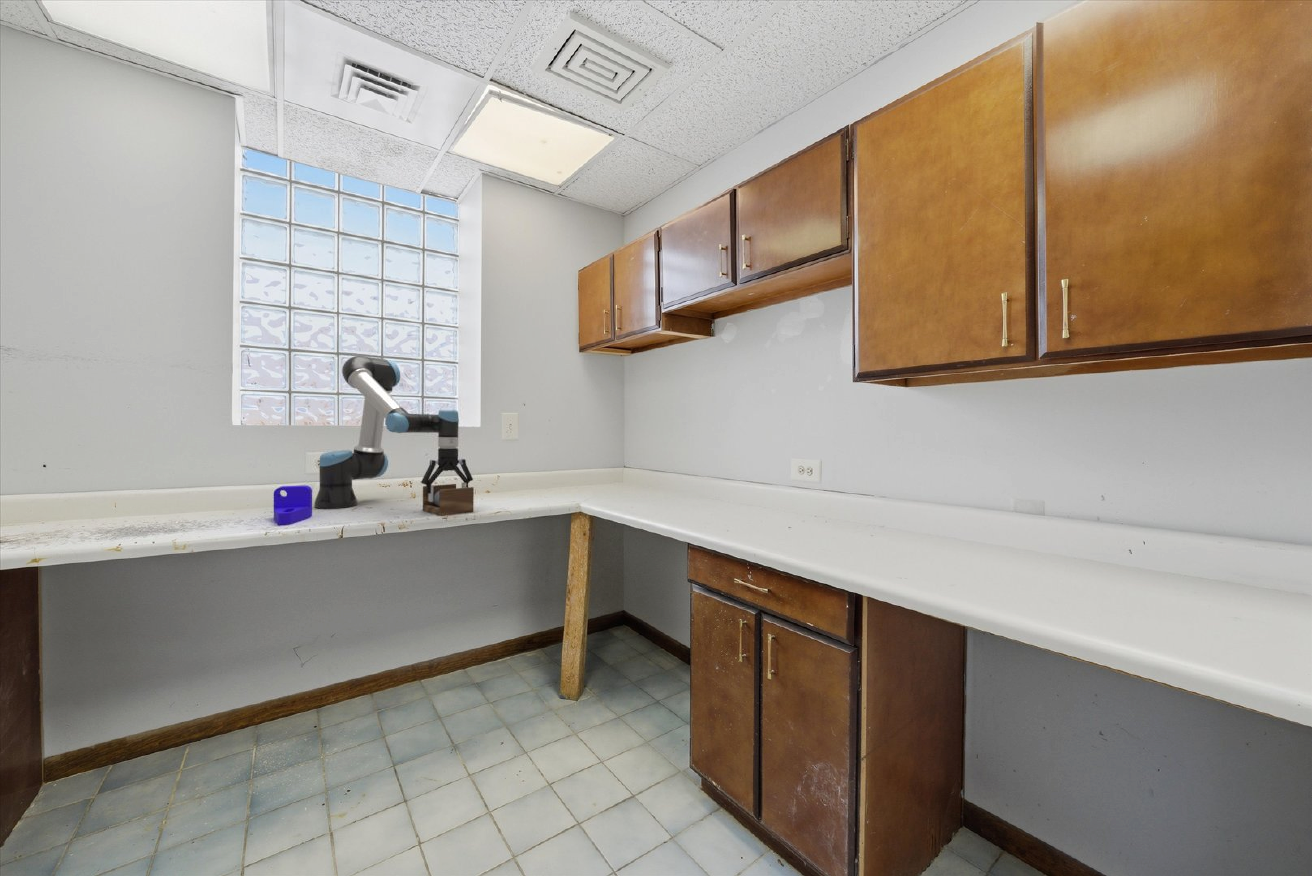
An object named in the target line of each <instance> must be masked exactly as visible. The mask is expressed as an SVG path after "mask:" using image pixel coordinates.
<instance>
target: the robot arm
mask: <svg viewBox="0 0 1312 876" xmlns="http://www.w3.org/2000/svg"><path fill="white" fill-rule="evenodd" d="M341 373H342V377H343V379H344V380H345V382H346V384H347V385H349V386H350V388H352V389H356V390H357V391H358V392H359V393H360V394H361V395H362V396H363V397H364V399H363V400H364V403H363V410H362V417H361V418H362V419H361V424H360V431H359V439H358V444H357V445H355V446H354V447H353V451H352V450H350V449H345V450H344V449H343V450H335V451H334V450H332V451H327V452H323V453H322V454H320V457H319V461H318V462H319V463H318V466H319V489H318V492H317V495H316V497H315V500H314V508H315V509H322V510H323V509H324V510H325V509H328V510H329V509H343V508H350V507H351V508H352V507H355V506H357V505H358V502H357V501H358V500H357V497H356V493H355V491H354V489H353V481H355V480H356V481H357V480H365V479H370V480H371V479H375V478H380V477H382V476H383V475H384V474H385V473H386V471H387V470H388V467H389V459H388V455H387V454H386V453H385V452H384V449H383V448H382V447H381V446H382V438H383V432H384V424H385V426H386V429H387V431H389V432H391V433H397V434H405V433H406V434H407V433H409V434H410V433H414V434H416V433H418V434H419V433H420V434H421V433H423V434H424V433H425V434H426V433H427V434H428V433H430V434H431V433H432V434H433V433H434V434H435V433H436V434H438V435H437V439H438V440H437V444H438V445H437V447H438V449H437V460H434V459H430V460H429V465H428V468H427V469H426V471H425V473H424V475H423V476H422V477H423V478H422V479H421V482H420V483H421V484H423V485H425V486H426V493H428V501H430V502H433V486H434V484H433V483H434V482H435V481H436V479H438V477H439V476H440V475H441V474H442V473H443V472H448V471H451V472H452V471H454V472H455V473H456V475H457V476H458V477H459V479H461V480H462V482H461V488H468V487H469V483H471V482H472V481H473V480H474V477H473V476H472V473H471V472H470V470H469V467H468V466H467V461H466V458H465V459H464V458H460V459H459V448H458V447H459V424H460V423H459V421H460V419H459V411H458V410H456V409H438V414H432V413H431V414H428V413H425V414H423V413H409V412H408V411H407V410H406V409H405V408H404V407H403V406H402V405H401V404H399V403H398V401H397V400H395V399H394V397H393V396H392V395H391V394H390V393H392V392H393V388H394V387H396V386H398V384H400V381H401V371H400V368H399V366H398V364H396V363H395V362H394V361H392V360H388V359H385V358H377V357H369V356H365V355H364V356H363V355H362V356H361V355H355V356H351V357H350V358H348V359H347V360H346V361H345V362H344V363H343V365H342V370H341ZM437 465H438V467H437V468H436V470H435V467H436V466H437ZM458 465H460V468H461V469H462V470H463V472H462V471H461V469H460V468H459V466H458ZM434 470H435V471H434ZM433 471H434V472H433ZM432 484H433V485H432Z"/></svg>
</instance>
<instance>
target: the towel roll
mask: <svg viewBox="0 0 1312 876" xmlns="http://www.w3.org/2000/svg"><path fill="white" fill-rule="evenodd" d="M433 502H434V504H435V505H436V506H437V507H439V491H438V492H437V493H436V494H435V495H434V497H433Z"/></svg>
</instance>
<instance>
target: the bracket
mask: <svg viewBox="0 0 1312 876" xmlns="http://www.w3.org/2000/svg"><path fill="white" fill-rule="evenodd" d="M281 491H284V492H285V493H286V495H282V494H281ZM312 516H313V488H312V487H311V486H310V485H305V484H304V485H282V486H280V487H278V488H277V487H276V489H274V492H273V521H274V522H275V523H276V524H277V525H278V526H289V525H294V524H295V523H296V524H297V523H299V522H302V521H305V520H307V519H310V518H312Z"/></svg>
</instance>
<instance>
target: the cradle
mask: <svg viewBox="0 0 1312 876" xmlns="http://www.w3.org/2000/svg"><path fill="white" fill-rule="evenodd" d="M474 488H475V487H473V486H468V488H462V487H459V488H458V487H457V483H449V484H437V485H434V484H433V497H434V495H435V494H436V493H437V492H438V491H439V507H437V506H436V505H435V504H434V502H430V501H428V493H426V485H425V486H424V485H422V512H426V513H429V514H433V515H436V516H440V517H443V516H445V517H446V516H451V515H452V516H453V515H461V514H466V513H473V512H474V507H475V506H474V498H475V497H474V493H475V492H474Z"/></svg>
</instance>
